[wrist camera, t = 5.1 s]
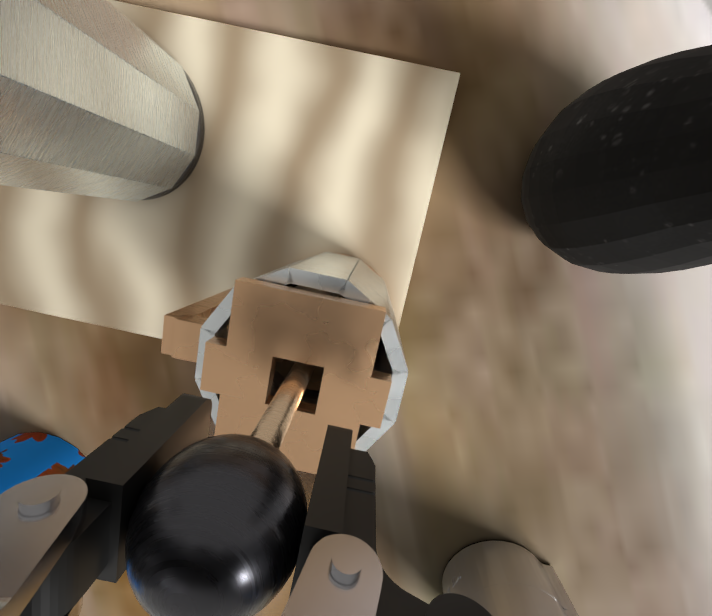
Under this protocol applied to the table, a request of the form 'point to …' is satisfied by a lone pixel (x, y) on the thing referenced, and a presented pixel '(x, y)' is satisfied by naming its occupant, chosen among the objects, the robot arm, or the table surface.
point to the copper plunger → (223, 516)
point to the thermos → (34, 458)
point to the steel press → (92, 103)
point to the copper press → (297, 352)
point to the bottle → (629, 171)
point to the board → (243, 182)
